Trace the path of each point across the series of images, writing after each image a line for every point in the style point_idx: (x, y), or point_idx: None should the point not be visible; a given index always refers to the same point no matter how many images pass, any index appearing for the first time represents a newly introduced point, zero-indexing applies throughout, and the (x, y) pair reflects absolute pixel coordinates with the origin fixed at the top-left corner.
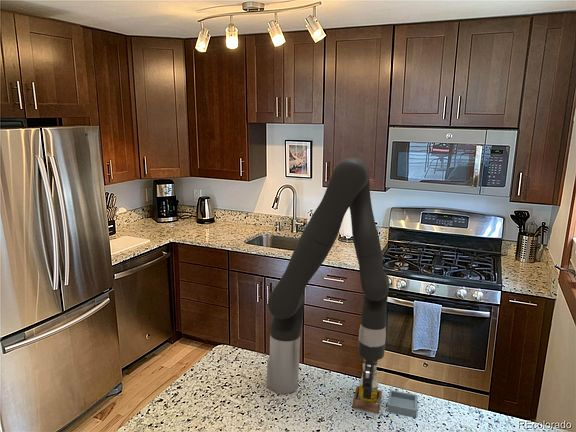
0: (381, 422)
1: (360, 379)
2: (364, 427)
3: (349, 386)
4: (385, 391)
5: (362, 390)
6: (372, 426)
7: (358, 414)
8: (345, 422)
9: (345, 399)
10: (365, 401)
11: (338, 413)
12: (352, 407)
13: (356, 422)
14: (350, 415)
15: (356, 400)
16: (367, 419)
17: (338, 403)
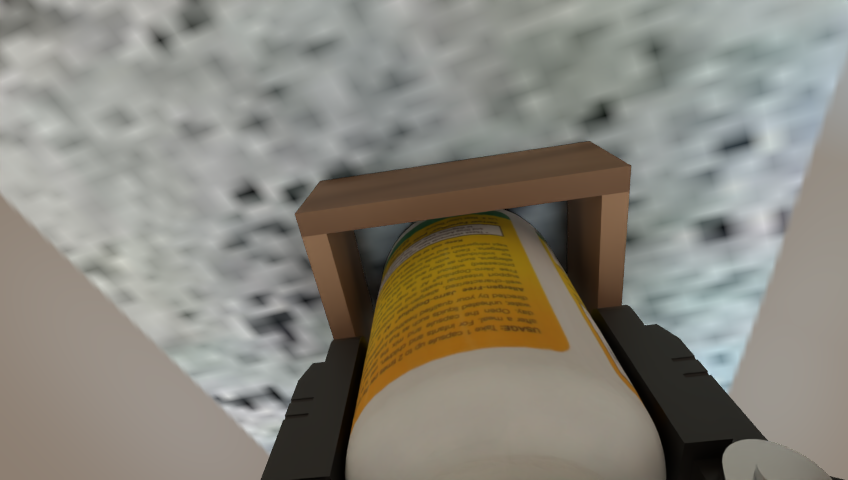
0: (283, 409)
1: (480, 402)
2: (145, 333)
3: (712, 19)
4: (698, 360)
5: (367, 364)
6: (199, 373)
7: (262, 256)
8: (75, 189)
9: (420, 65)
10: (351, 333)
11: (140, 78)
12: (320, 182)
13: (152, 270)
14: (200, 199)
15: (309, 252)
16: (249, 329)
17: (302, 10)
